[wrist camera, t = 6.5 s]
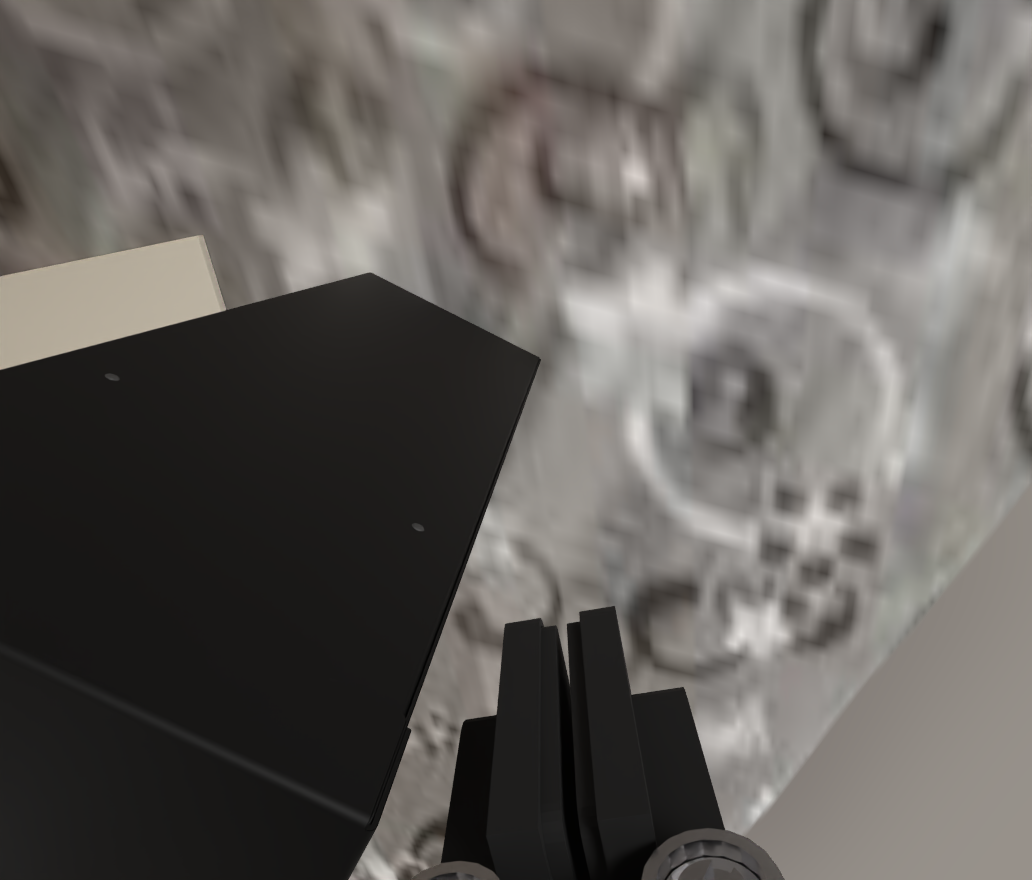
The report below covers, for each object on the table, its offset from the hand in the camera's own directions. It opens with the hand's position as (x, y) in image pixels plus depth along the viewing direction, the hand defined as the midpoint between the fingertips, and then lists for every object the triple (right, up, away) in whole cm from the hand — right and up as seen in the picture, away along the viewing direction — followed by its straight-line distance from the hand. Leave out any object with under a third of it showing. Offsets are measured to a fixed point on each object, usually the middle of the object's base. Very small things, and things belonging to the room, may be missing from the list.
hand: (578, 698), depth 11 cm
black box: (-5, +6, +21) cm, 22 cm away
